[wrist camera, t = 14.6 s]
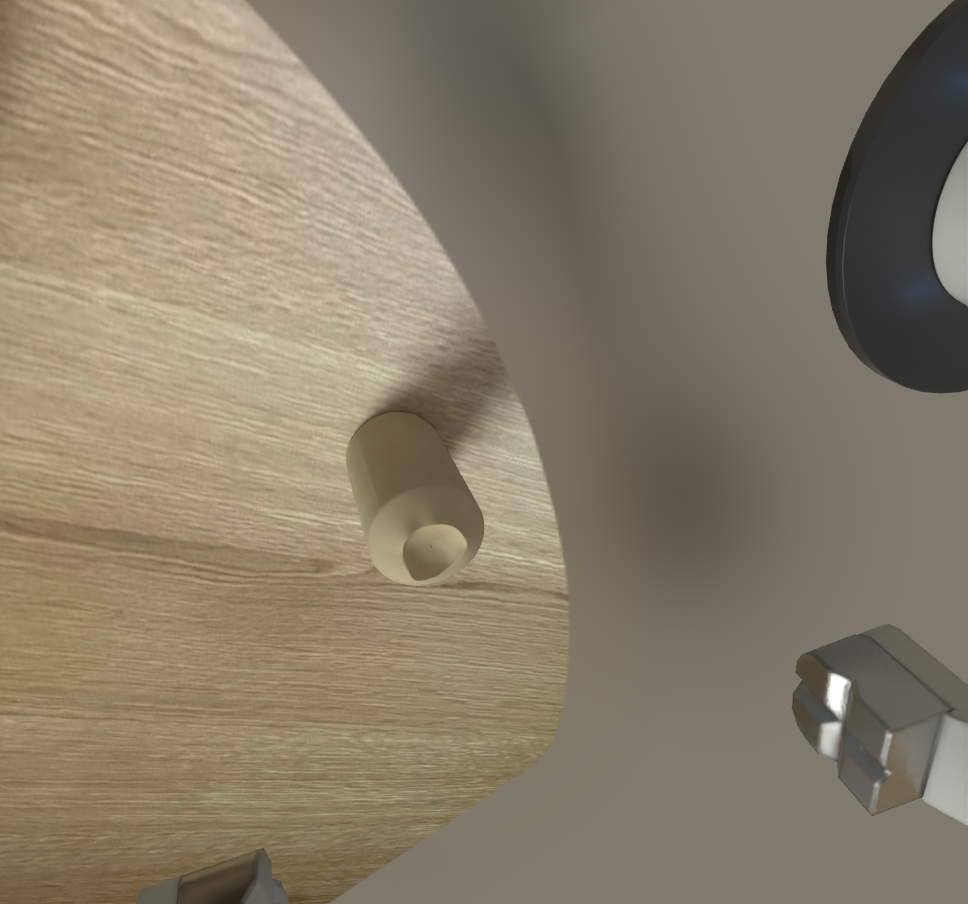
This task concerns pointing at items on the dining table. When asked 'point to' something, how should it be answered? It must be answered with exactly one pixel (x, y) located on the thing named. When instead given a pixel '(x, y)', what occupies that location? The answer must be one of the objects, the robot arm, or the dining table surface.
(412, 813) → the dining table surface
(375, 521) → the candle
